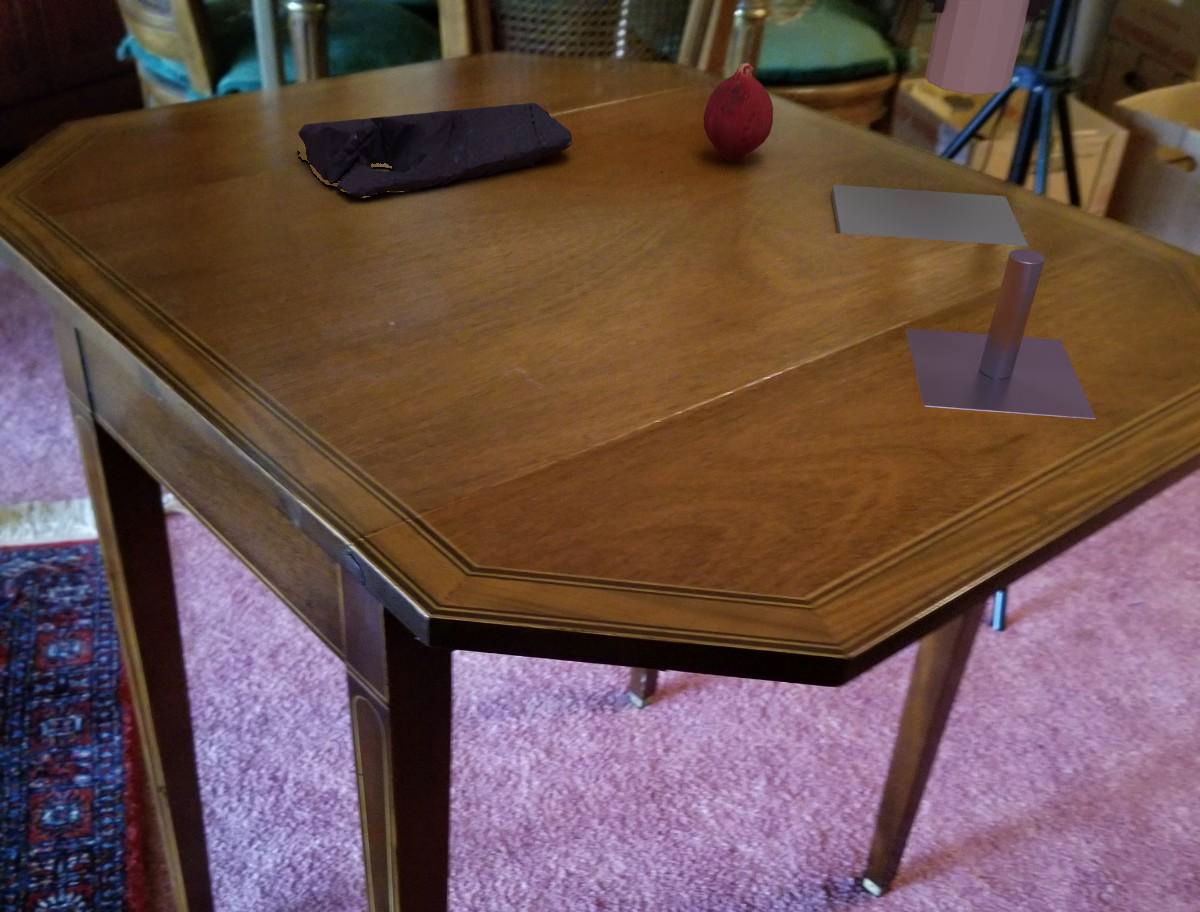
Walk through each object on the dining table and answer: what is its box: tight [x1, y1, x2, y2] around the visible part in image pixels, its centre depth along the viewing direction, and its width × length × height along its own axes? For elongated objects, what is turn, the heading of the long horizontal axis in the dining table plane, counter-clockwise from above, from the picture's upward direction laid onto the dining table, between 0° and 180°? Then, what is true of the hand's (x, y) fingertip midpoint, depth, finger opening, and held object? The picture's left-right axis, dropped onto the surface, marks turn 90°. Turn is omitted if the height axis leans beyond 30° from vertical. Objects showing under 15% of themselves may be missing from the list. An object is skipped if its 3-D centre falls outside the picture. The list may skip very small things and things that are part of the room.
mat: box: [830, 184, 1029, 247], centre depth 92 cm, size 14×18×1 cm
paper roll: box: [924, 0, 1030, 96], centre depth 81 cm, size 6×6×9 cm
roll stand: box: [904, 248, 1097, 420], centre depth 72 cm, size 10×10×9 cm
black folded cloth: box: [298, 102, 573, 198], centre depth 100 cm, size 15×22×5 cm
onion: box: [703, 62, 774, 163], centre depth 101 cm, size 6×6×8 cm
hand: (981, 11), depth 81 cm, fingers closed on paper roll, 5 cm apart
